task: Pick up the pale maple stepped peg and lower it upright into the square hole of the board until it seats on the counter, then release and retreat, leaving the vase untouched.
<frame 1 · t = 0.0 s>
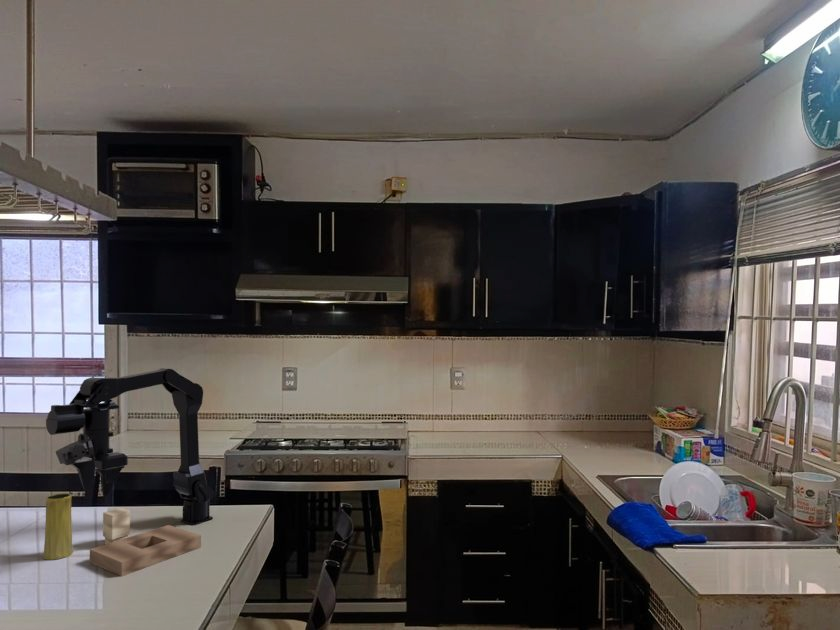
hand: (95, 492, 139), 15 cm above the table, tool pointing down, fingers open, 9 cm apart
peg: (116, 543, 144), on the table
board: (147, 554, 137), on the table
vase: (58, 556, 137), on the table
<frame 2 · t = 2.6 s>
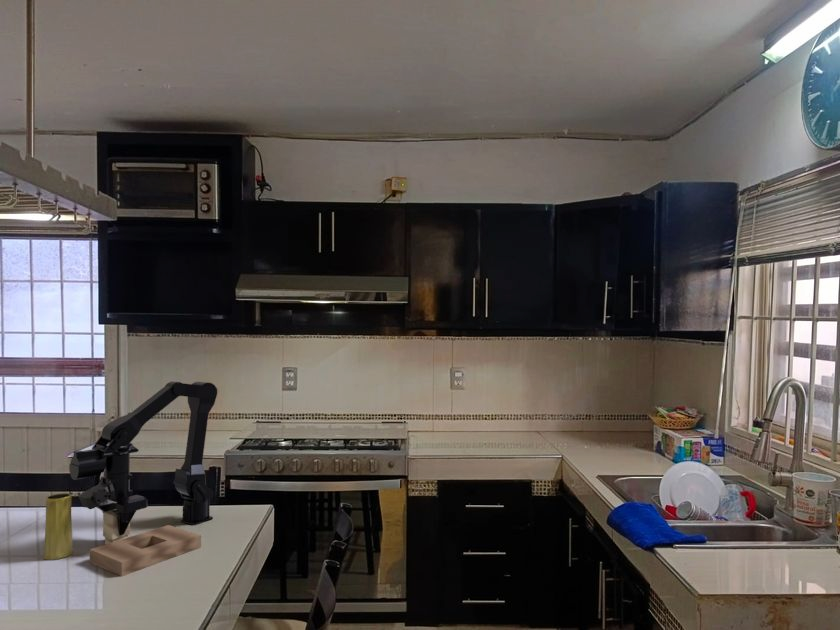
hand: (116, 533, 144), 3 cm above the table, tool pointing down, fingers closed on peg, 4 cm apart
peg: (116, 543, 144), on the table, touching gripper
everything else where it was.
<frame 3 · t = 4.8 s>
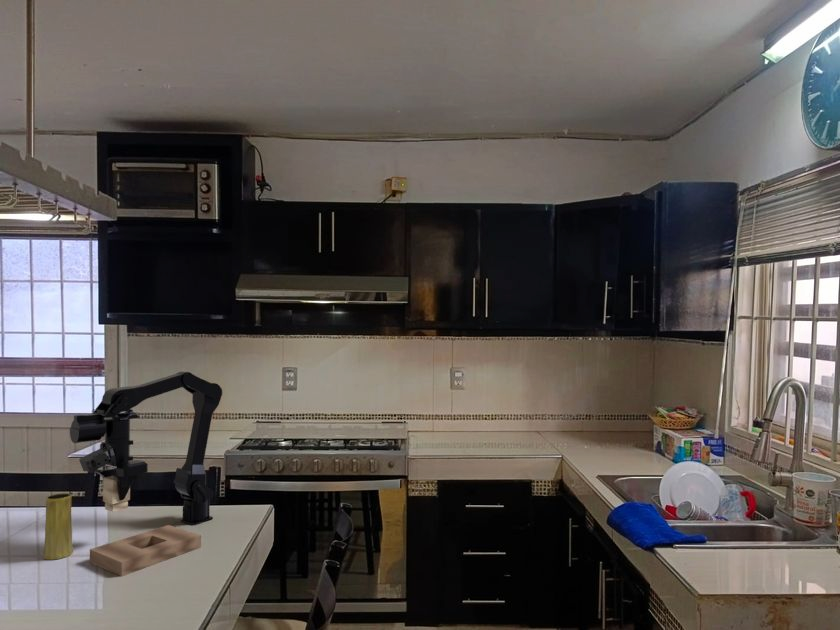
hand: (116, 498, 145), 11 cm above the table, tool pointing down, fingers closed on peg, 4 cm apart
peg: (116, 508, 145), point 9 cm above the table, touching gripper
everything else where it was.
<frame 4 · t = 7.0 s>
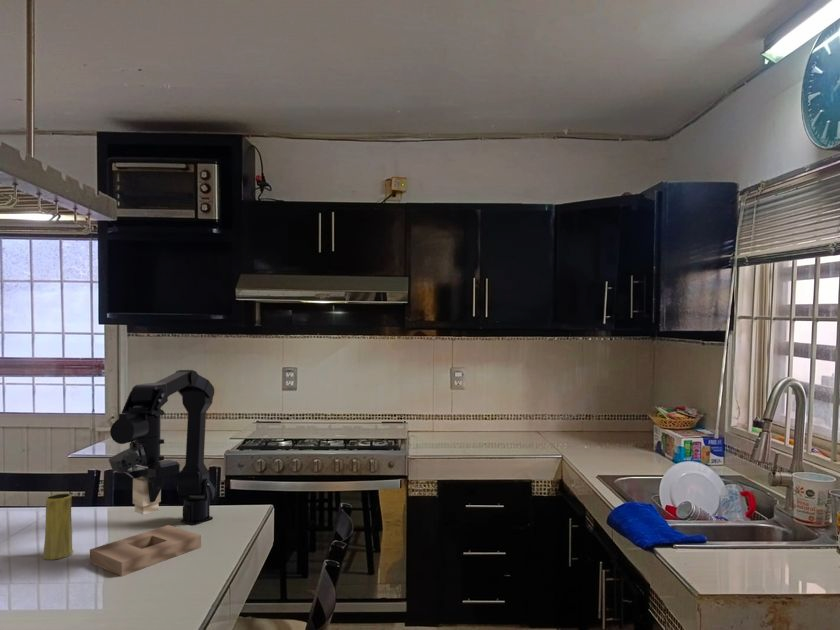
hand: (146, 500, 137), 13 cm above the table, tool pointing down, fingers closed on peg, 4 cm apart
peg: (146, 510, 137), point 10 cm above the table, touching gripper
everything else where it was.
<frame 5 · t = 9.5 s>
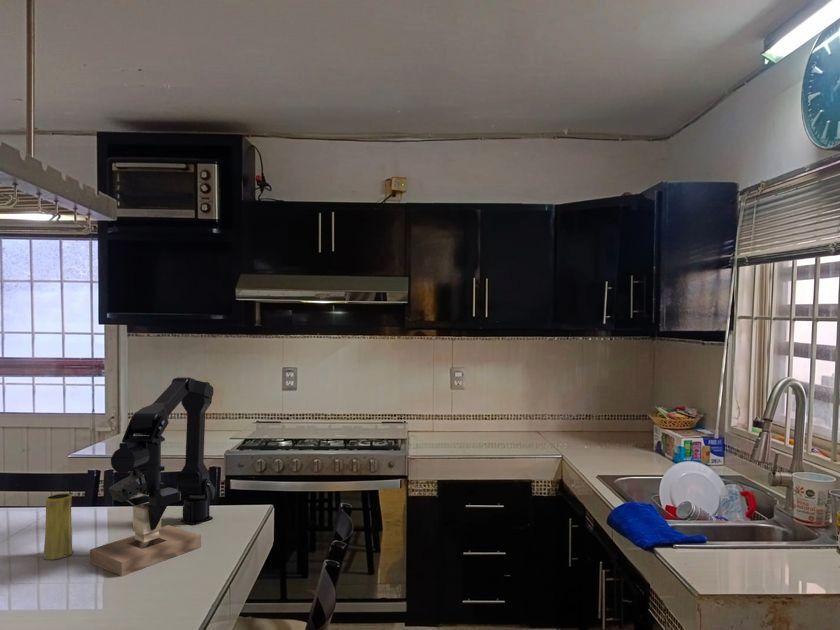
hand: (147, 527, 137), 6 cm above the table, tool pointing down, fingers closed on peg, 4 cm apart
peg: (147, 538, 137), point 4 cm above the table, touching gripper
everything else where it was.
when the fingers open (4 cm above the table, at t = 11.6 s): peg drops 1 cm, resting in board.
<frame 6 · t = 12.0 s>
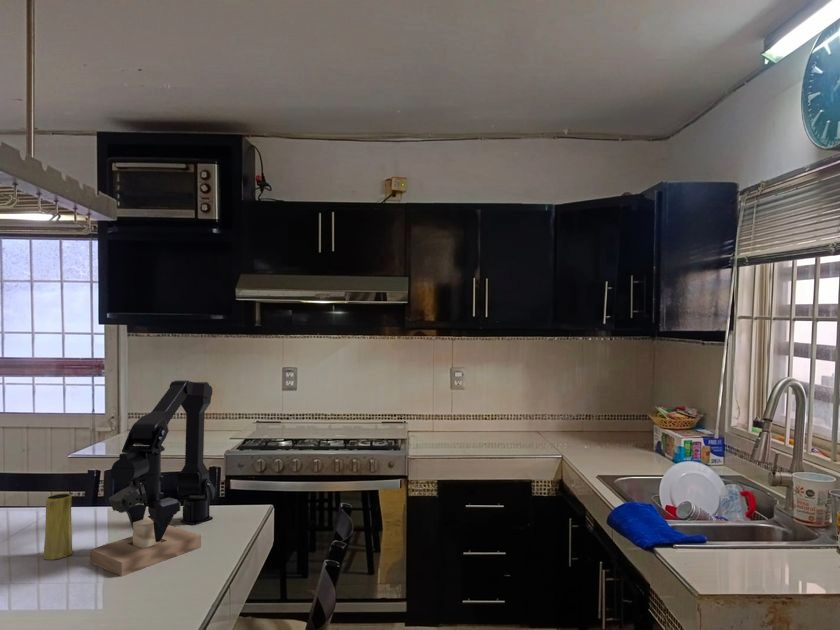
hand: (147, 537, 137), 4 cm above the table, tool pointing down, fingers open, 9 cm apart
peg: (146, 554, 137), resting in board
everything else where it was.
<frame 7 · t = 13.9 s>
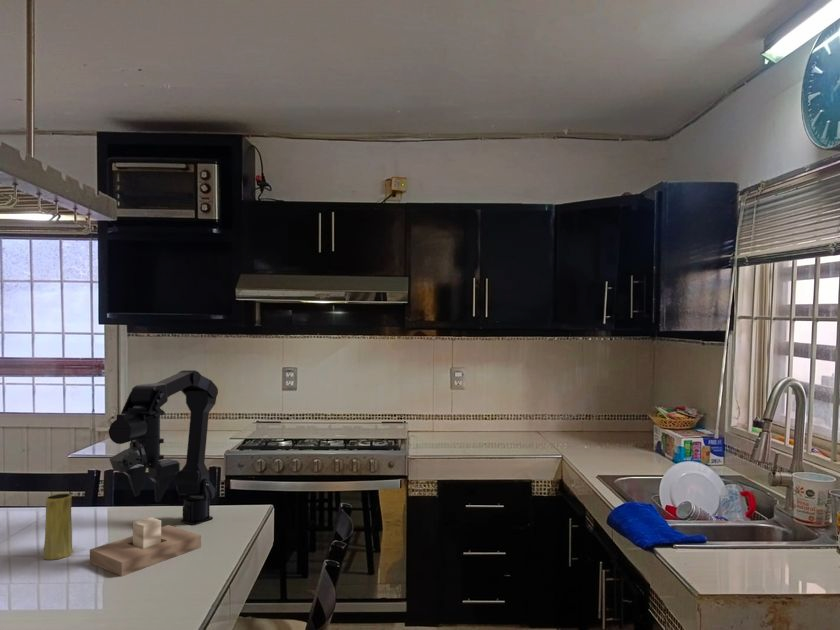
hand: (147, 498, 140), 13 cm above the table, tool pointing down, fingers open, 9 cm apart
nothing on the table moved.
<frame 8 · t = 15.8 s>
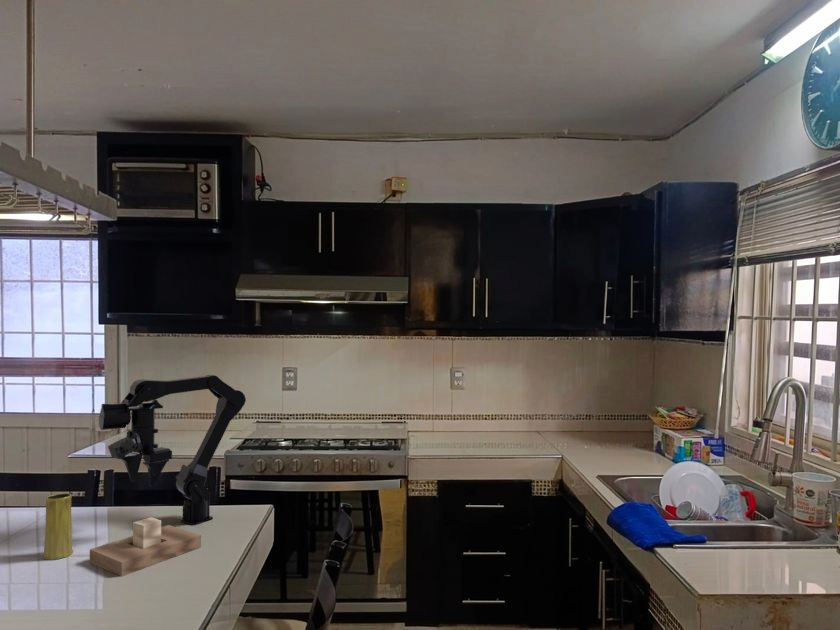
hand: (142, 483, 153), 13 cm above the table, tool pointing down, fingers open, 9 cm apart
nothing on the table moved.
at the end: peg 0.0 cm off-centre on the board, point 0.0 cm above the board's base; peg tilted 0°; the gripper is holding nothing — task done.
